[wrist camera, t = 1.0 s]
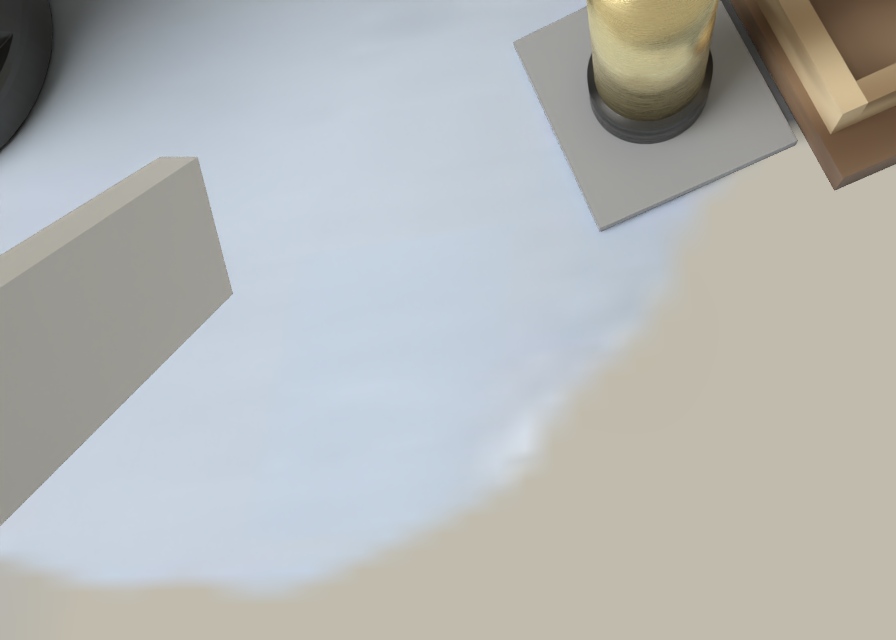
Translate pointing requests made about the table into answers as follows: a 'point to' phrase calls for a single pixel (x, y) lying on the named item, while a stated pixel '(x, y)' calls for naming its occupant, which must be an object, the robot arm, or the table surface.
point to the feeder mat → (661, 164)
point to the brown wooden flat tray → (833, 76)
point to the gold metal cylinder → (649, 65)
